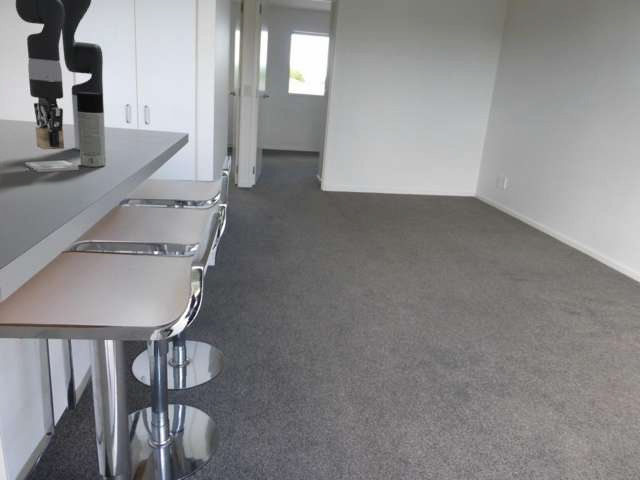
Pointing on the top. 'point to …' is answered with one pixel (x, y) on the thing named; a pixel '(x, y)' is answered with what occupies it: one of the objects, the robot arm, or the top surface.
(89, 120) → the tall grey carton
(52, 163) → the reading tile
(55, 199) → the top surface
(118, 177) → the top surface
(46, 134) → the letter cube
